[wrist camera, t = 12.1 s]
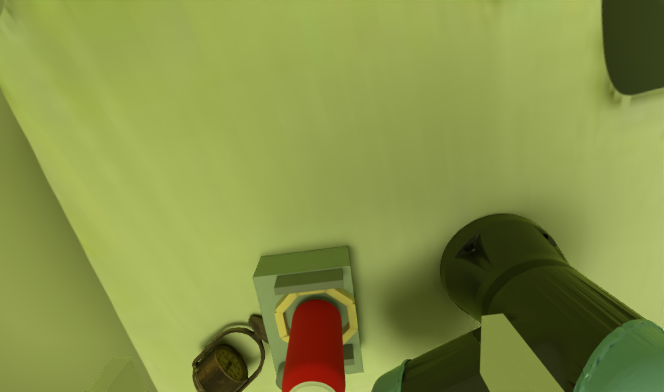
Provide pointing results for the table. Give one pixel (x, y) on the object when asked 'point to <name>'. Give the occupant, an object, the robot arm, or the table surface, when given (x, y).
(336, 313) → the beverage can
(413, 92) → the table surface
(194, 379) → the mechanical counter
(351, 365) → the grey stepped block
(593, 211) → the table surface
